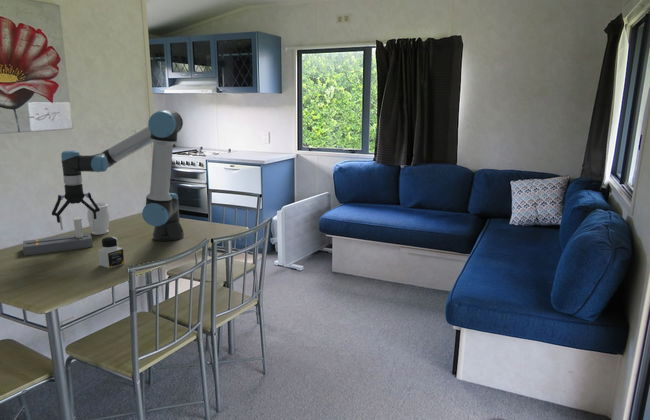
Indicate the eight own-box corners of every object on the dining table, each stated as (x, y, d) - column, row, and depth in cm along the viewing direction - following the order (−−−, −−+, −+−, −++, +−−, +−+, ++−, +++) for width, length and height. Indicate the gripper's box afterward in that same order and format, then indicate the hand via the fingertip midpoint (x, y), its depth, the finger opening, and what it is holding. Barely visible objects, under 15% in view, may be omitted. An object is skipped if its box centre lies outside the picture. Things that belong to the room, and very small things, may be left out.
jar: (102, 236, 243) (99, 207, 239) (84, 234, 245) (81, 206, 241) (115, 230, 253) (112, 203, 249) (98, 229, 255) (95, 202, 251)
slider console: (90, 240, 235) (89, 232, 234) (92, 246, 225) (91, 238, 224) (24, 249, 221) (23, 240, 220) (23, 255, 211) (22, 246, 210)
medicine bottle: (109, 268, 197) (106, 241, 194) (99, 265, 201) (96, 238, 198) (124, 263, 203) (122, 237, 200) (114, 260, 206) (111, 234, 204)
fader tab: (82, 238, 230) (80, 216, 228) (83, 241, 225) (81, 219, 223) (75, 239, 229) (73, 217, 226) (76, 242, 224) (74, 219, 221)
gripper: (101, 180, 230) (105, 222, 235) (42, 184, 217) (47, 228, 222) (103, 183, 224) (107, 226, 229) (42, 187, 211) (48, 232, 216)
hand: (77, 227), depth 225 cm, fingers open, 13 cm apart
